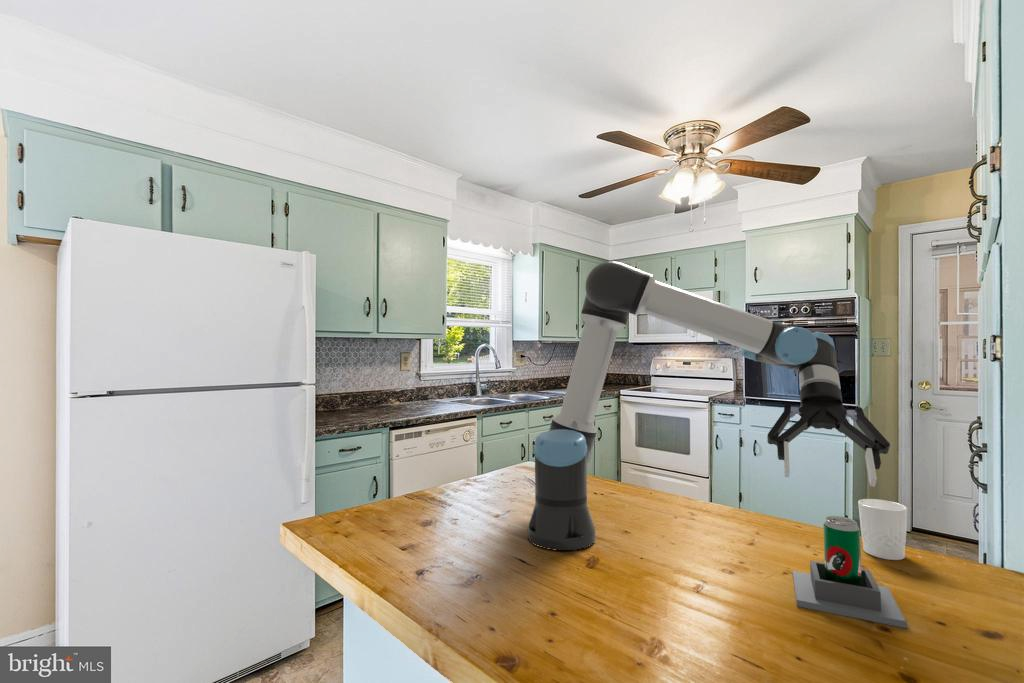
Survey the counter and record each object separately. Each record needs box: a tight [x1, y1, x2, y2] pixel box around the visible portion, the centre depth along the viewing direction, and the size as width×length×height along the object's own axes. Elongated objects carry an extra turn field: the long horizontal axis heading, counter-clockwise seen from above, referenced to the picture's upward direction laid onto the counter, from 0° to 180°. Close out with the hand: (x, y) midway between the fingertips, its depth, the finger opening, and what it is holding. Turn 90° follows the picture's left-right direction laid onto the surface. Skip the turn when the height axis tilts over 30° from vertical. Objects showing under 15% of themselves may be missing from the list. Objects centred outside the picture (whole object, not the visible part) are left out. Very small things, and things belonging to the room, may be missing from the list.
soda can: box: [822, 515, 862, 587], centre depth 79 cm, size 5×5×12 cm
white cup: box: [857, 498, 908, 561], centre depth 98 cm, size 8×8×10 cm
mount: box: [792, 560, 907, 629], centre depth 79 cm, size 14×12×4 cm
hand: (828, 478), depth 90 cm, fingers open, 13 cm apart
